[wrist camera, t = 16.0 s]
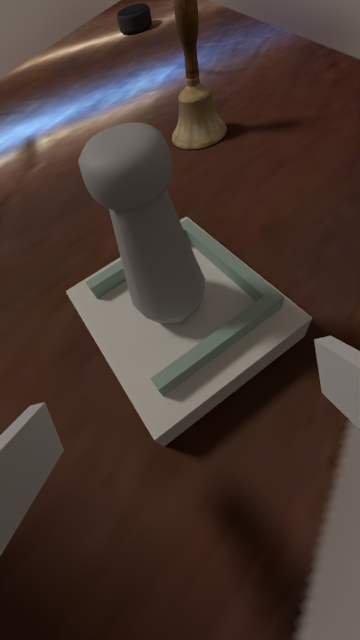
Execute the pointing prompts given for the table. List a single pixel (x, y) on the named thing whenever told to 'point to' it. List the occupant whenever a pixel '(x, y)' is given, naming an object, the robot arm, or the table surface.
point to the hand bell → (194, 89)
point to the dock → (189, 336)
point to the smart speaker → (134, 19)
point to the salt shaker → (144, 219)
